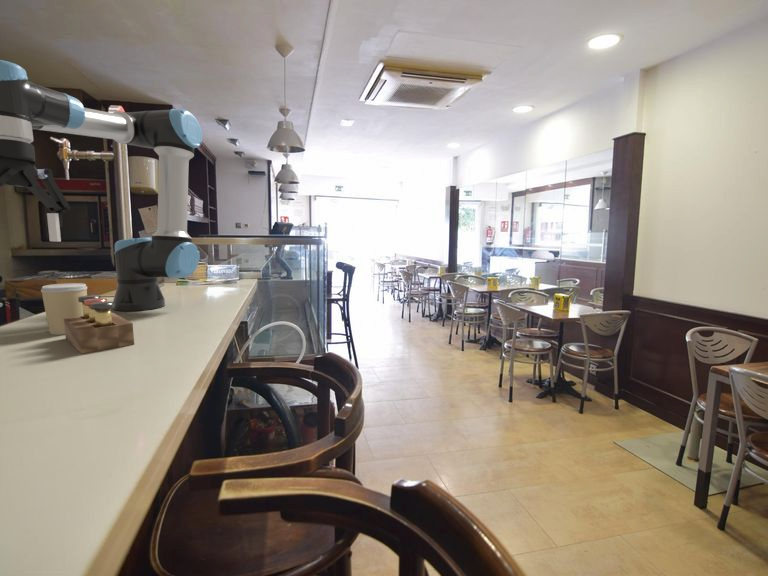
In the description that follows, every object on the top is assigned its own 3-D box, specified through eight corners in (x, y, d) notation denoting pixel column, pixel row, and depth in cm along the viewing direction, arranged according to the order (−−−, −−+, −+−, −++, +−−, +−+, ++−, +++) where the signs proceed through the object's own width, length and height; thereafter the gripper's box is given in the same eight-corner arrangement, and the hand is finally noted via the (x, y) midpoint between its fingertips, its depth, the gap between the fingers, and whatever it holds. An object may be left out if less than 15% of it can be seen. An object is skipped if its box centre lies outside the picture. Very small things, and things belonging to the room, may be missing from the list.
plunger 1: (100, 320, 102) (97, 294, 101) (104, 322, 99) (102, 296, 98) (78, 322, 99) (76, 296, 98) (82, 325, 96) (80, 298, 95)
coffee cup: (99, 327, 109) (95, 283, 107) (69, 336, 99) (64, 288, 98) (68, 326, 109) (63, 282, 108) (35, 334, 100) (30, 287, 99)
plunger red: (106, 323, 98) (104, 297, 97) (111, 327, 95) (109, 299, 94) (84, 326, 95) (81, 299, 94) (88, 330, 92) (86, 302, 91)
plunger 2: (113, 328, 94) (110, 300, 93) (118, 331, 91) (116, 303, 90) (90, 331, 90) (87, 303, 90) (95, 335, 88) (92, 305, 87)
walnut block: (114, 331, 104) (112, 312, 104) (134, 344, 93) (132, 323, 92) (65, 338, 97) (63, 318, 97) (81, 353, 86) (79, 330, 85)
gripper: (61, 153, 98) (69, 240, 101) (-84, 127, 74) (-68, 242, 77) (83, 151, 95) (91, 241, 98) (-60, 124, 72) (-44, 243, 75)
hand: (21, 242), depth 88 cm, fingers open, 13 cm apart
